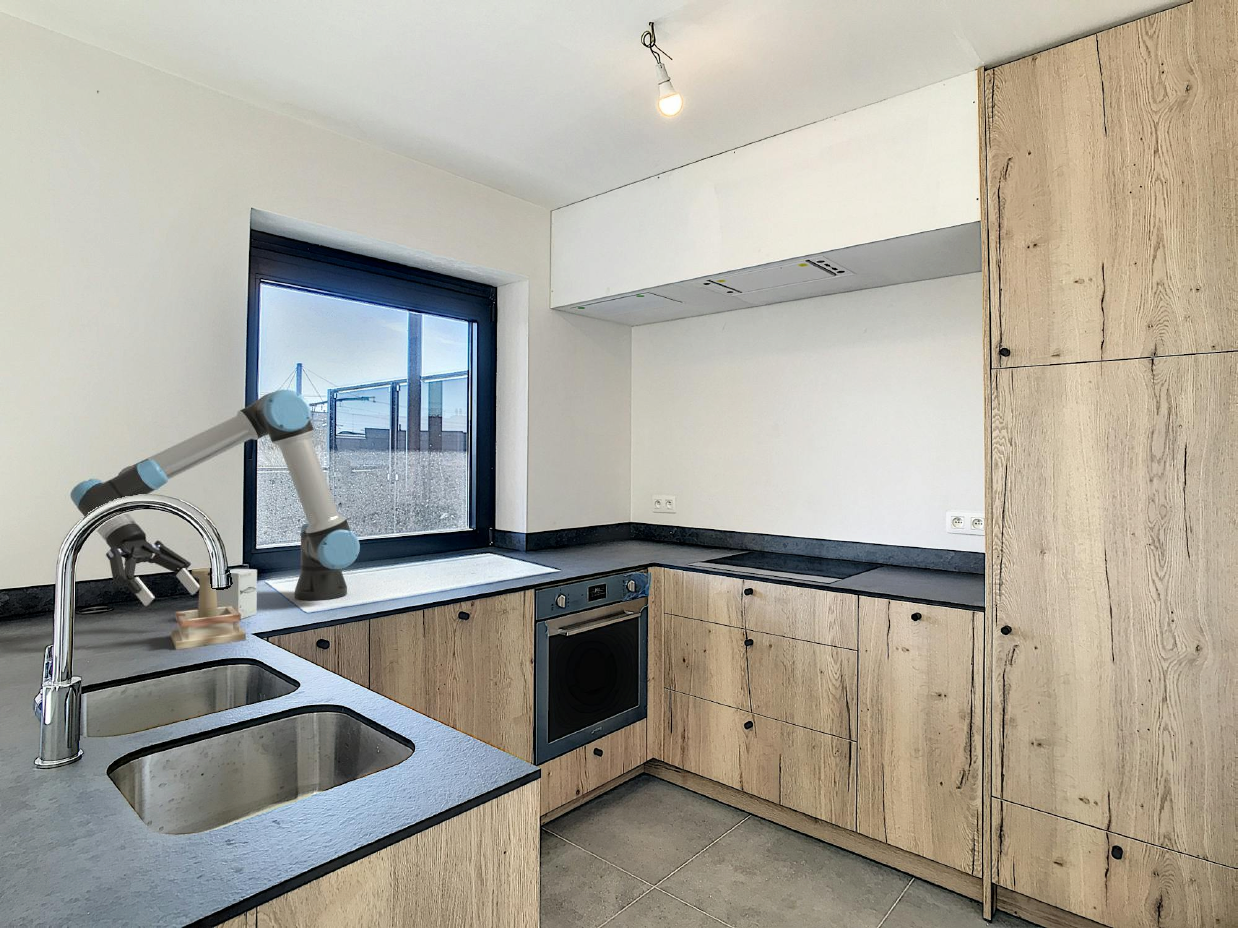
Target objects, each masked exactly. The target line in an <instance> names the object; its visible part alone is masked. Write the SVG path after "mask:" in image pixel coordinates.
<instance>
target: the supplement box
mask: <svg viewBox="0 0 1238 928" xmlns="http://www.w3.org/2000/svg"><path fill="white" fill-rule="evenodd" d="M229 570H230V573H231V577H232V582H233V584H232V585H231V587H230V588H228V589H224V590H216V595H217V607H226V606H234V608H235V609H236V610H237V611H238V612H239V613H240V614H241V620H242V619H245V618H249V617H252V616H256V615H257V612H258V611H257V609H258V607H257V605H258V593H257V592H258V581H257V580H258V570H257V569H253V568H249V569H248V568H233V569H229Z"/></svg>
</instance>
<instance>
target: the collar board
mask: <svg viewBox="0 0 1238 928" xmlns="http://www.w3.org/2000/svg"><path fill="white" fill-rule="evenodd" d="M174 613H175V615H174V616H175V621H176V622H177V629H173V630H172V629H171V630H170V638H171V641H172V643H173V646H174V648H175V650H182V649H183V650H184V649H190V648H191V649H192V648H196V647H197V648H199V647H205V646H204V645H206V646H213V645H219V644H226V643H233V642H241V641H242V642H243V641H247V634H246V632H245V630H243V628H242V627H241V626H240V624H239V623H240V622H241V621H242V619H241V614H240V613H239V612H238V611H237V610H236V609H235V608H234V606H226V607H217V616H213V617H204V618H198V609H189V610H183V611H175V612H174Z"/></svg>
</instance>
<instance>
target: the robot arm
mask: <svg viewBox="0 0 1238 928" xmlns="http://www.w3.org/2000/svg"><path fill="white" fill-rule="evenodd" d="M311 414H312V410H311V405H310V404H309V401H308V400H307V398H305V396H303V395H302V394H301V393H299V392H298V391H295V390H291V389H280V390H279V389H278V390H275V391H271V392H270V393H267V394H265V395H263V396H261V397H260V398H258V399H257V400H256V401H254V402H253V403H250V405H247V406H246V407H244V408H242V409H239V410H238V411H237V413H236V415H235V416H234V417H230V418H229V419H227V420H225V421H223V422H221V423H218V424H217V425H215V426H212V427H210V428H208V429H206V430H204V431H202V432H199V433H197V434H195V435H193V436H192V437H189V438H187V439H185V440H182V441H181V442H179V443H177V444H175V445H172V446H170V447H168V448H167V449H164V450H162V451H160V452H157V453H156V454H153V455H151V456H150V457H147V458H146V459H143V460H141V461H139V462H137V463H134V464H132V465H129V466H126V467H124V468H123V469H121V471H119V473H118V475H117V476H114V477H112V478H111V479H109V480H106V481H102V480H101V479H99V478H90V479H88V480H83V481H81V482H79V483H78V484H76V485H75V486H74V487H73V488H72V489H71V492H70V498H71V501H72V502H73V503H74V505H75V506H76V508H77V509H78V511H79V512H80V513H81V514H82V515H83V516H84V517H85V516H86V515H87V514H88V512H90V511H92V510H93V509H95V508H96V507H99V506H101V505H103V504H105V503H108V502H109V501H113V500H114V499H117V498H122V497H125V496H133V495H138V494H147V495H149V494H151V493H152V492H154V491H157V490H160V488H161V487H164V485H166V484H167V483H168V482H169V480H170V479H173V478H174V477H177V476H178V475H180V474H182V473H184V472H186V471H189V470H191V469H192V468H194V467H197V466H198V465H202V464H203V463H205V462H206V461H209V460H210V459H213V458H215V457H217V456H219V455H221V454H223V453H225V452H227V451H229V450H231V449H233V448H235V447H238V446H240V445H241V444H243V443H245V442H248V441H249V440H256V441H257V440H259V439H261V438H263V437H266V436H269V438H270V442H271V443H272V444H273V445H275V446H278V447H279V448H280V452H281V454H282V456H283V459H284V462H285V465H286V467H287V470H288V473H289V475H290V477H291V480H292V483H293V486H294V488H295V491H296V494H297V496H298V499H299V502H300V504H301V507H302V510H303V512H304V515H305V518H306V520H307V523H303V524H302V525H301V526H300V534H299V536H300V574H299V578H298V580H297V582H296V586H295V589H294V598H295V599H297V600H303V601H304V600H305V601H320V600H321V601H322V600H332V599H338V598H342V597H344V596H346V595H348V586H347V583H346V580H345V578H344V574H343V572H342V569H344V568H347V567H349V566H350V565H351V564H353V563H354V562H355V561H356V559H357V558H358V556H359V553H360V550H361V549H360V547H361V545H360V541H359V539H358V537H357V535H355V533H354V532H353V531H352V530H351V528H350V525H349V523H348V520H347V517H346V516H343V515H341V514H340V513H339V511H338V508H337V505H336V504H335V500H334V498H333V495H332V492H331V490H330V489H331V488H330V486H329V483H328V481H327V477H326V475H325V472H324V470H323V468H322V464H321V462H320V459H319V456H318V454H317V451H316V448H315V445H314V443H313V440H312V436H313V434H314V432H315V430H314V427H313V423H312V421H311V416H312V415H311ZM96 531H97V533H98V534H99V535H100V537H101V538H102V539H103V540H104V541H105V542H106V544H107V545H108V547H109V550H108V551H107V553H105V556H106V558H107V559H108V560H109V565H110V570H111V576H112V581H113V584H114V585H120V587H121V588H126V587H127V588H128V589H129V590H130V592H131V593H132V594H134V595H135V596H136V597H137V598H138V599H139V600H140V603H141V602H142V605H144V606H145V607H146V606H149V605H150V604H151V602H152V601H153V600H154V599H155V598H156V597H155V595H154V594H153V593H152V591H150V590H149V589H148V587H147V586H146V585H145V584H144V582H143V581H142V580H141V579H140V577H139V576H136V577H135V572H136V565H138V564H140V563H149V564H155V565H157V566H160V567H162V568H164V569H166V570H168V571H170V572H172V573H175V574H176V575H175V577H176V578H177V579H178V581H180V582H181V584H182V585H183V586H184V587H185V589H187V591H188V592H189V593H190V595H192V596H193V595H195V594H196V593H197V592H198V591H199V587H200V583H198V582H197V581H196V580H195V577H194V576H192V572H190V571H189V570H188V568H190V566H191V564H192V563H191V562H190V561H188V560H187V559H185V558H184V557H182V556H181V555H179V554H178V553H176V552H175V551H173V550H171V549H170V548H168V547H167V546H165V544H164V543H162V542H161V540H156V541H155V542H154V543H150V542H148V541H147V536H146V535H147V534H146V533H145V531H144V530H143V529H142V528H141V526H140V525H139V524H137V521H136V520H135V518H133V517H132V515H131V514H130V513H129V514H124V515H122V516H118V517H116V518H114V519H112V520H109V521H108V522H106V523H105V524H104V525H102V526H101V527H100V528H99V529H98V530H96ZM123 558H124V560H123ZM123 561H124V562H123Z"/></svg>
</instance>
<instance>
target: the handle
mask: <svg viewBox="0 0 1238 928" xmlns="http://www.w3.org/2000/svg"><path fill="white" fill-rule="evenodd" d="M210 568H211V567H204V568H196V569H192V570H191V575H192V576H193V577H194V578H196V579H197V580H198V581H199V586H200V587H199V589H198V605H197V610H198V618H204V617H213V616H217V595H216V589H212V588H211V584H210Z"/></svg>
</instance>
